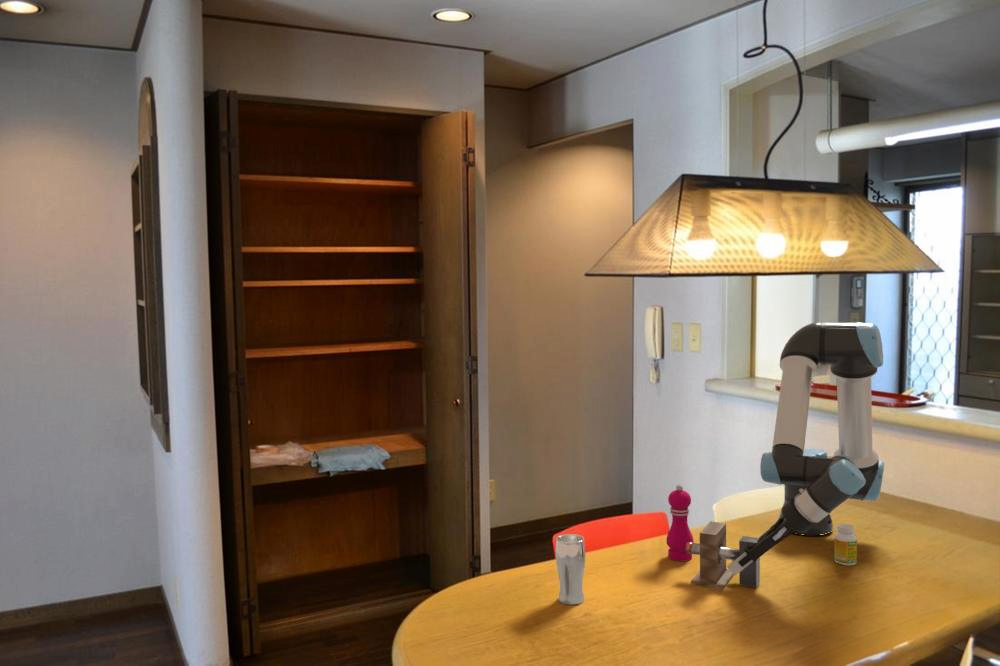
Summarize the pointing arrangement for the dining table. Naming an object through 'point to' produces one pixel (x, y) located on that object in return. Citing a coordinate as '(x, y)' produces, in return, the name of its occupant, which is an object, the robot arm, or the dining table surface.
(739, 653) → the dining table surface
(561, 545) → the beer glass
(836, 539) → the supplement bottle
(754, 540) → the metal rod with plate
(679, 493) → the pepper mill
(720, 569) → the wooden arch frame
